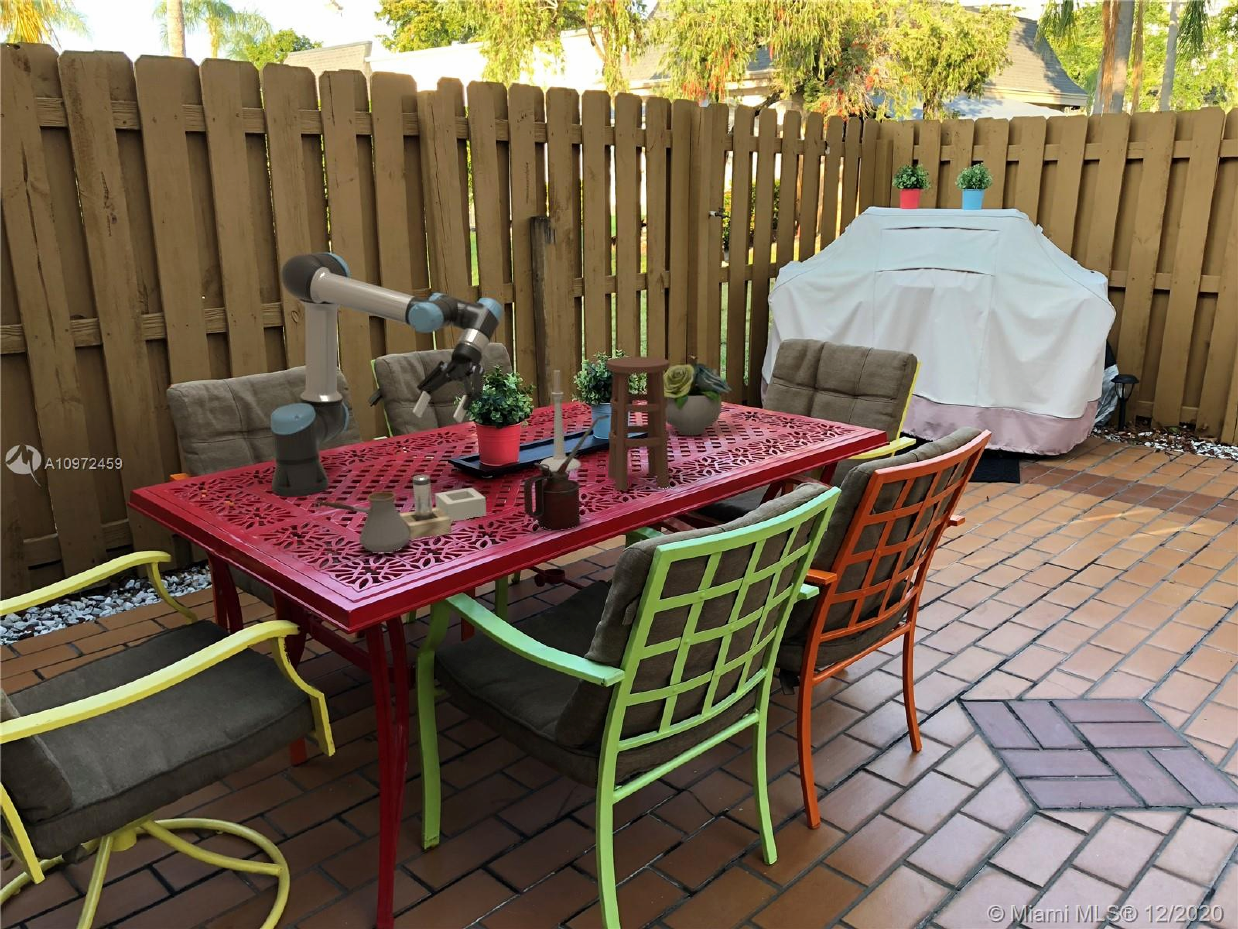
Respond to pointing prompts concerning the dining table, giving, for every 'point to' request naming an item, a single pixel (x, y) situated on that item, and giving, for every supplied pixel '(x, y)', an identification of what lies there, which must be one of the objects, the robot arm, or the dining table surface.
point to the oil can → (555, 494)
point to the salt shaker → (422, 497)
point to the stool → (653, 408)
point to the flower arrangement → (693, 397)
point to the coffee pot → (379, 523)
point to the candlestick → (559, 433)
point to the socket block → (427, 524)
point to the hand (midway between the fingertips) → (436, 417)
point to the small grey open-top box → (461, 504)
